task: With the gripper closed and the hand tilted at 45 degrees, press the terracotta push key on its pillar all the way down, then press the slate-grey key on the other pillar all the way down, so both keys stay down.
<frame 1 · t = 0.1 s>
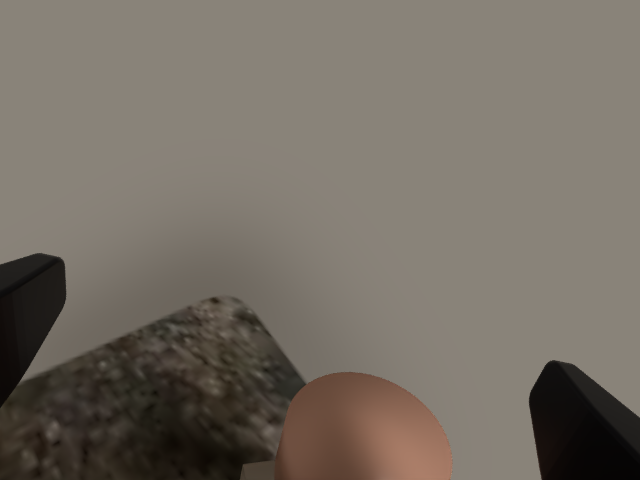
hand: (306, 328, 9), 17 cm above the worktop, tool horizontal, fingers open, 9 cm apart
terracotta key: (354, 474, 14), point 10 cm above the worktop, slide at 0.0 cm
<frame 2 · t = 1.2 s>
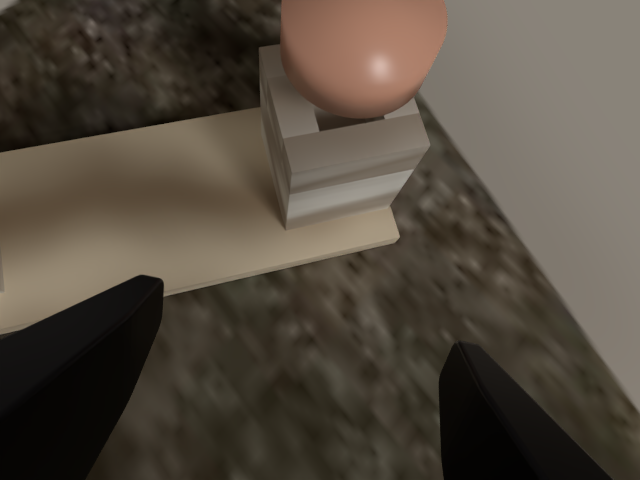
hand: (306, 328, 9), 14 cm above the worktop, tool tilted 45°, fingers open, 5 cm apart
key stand: (147, 215, 23), on the worktop
terracotta key: (355, 50, 15), point 10 cm above the worktop, slide at 0.0 cm
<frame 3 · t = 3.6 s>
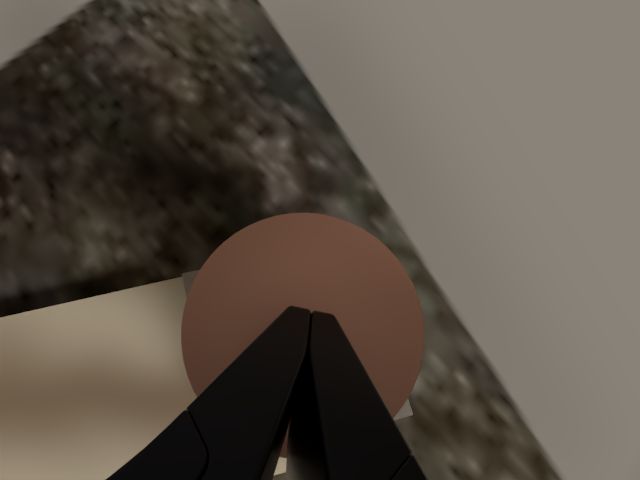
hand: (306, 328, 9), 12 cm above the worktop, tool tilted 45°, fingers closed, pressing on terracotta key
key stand: (66, 414, 19), on the worktop
terracotta key: (300, 335, 11), point 10 cm above the worktop, slide at 0.5 cm, touching gripper
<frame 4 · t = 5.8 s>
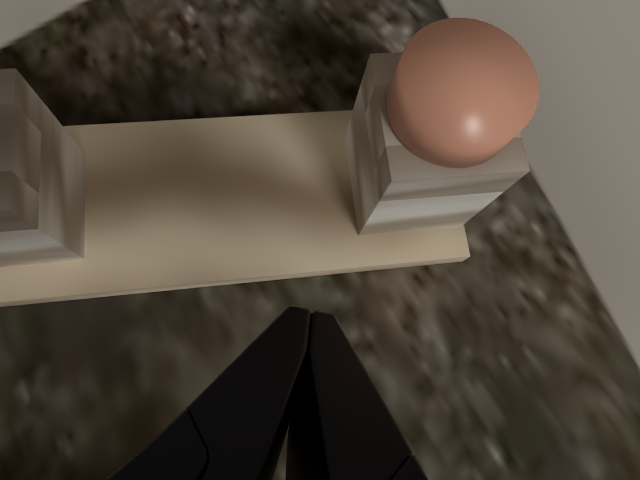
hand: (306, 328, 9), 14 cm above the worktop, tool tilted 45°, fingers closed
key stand: (224, 202, 24), on the worktop
terracotta key: (451, 106, 17), point 8 cm above the worktop, slide at 2.2 cm
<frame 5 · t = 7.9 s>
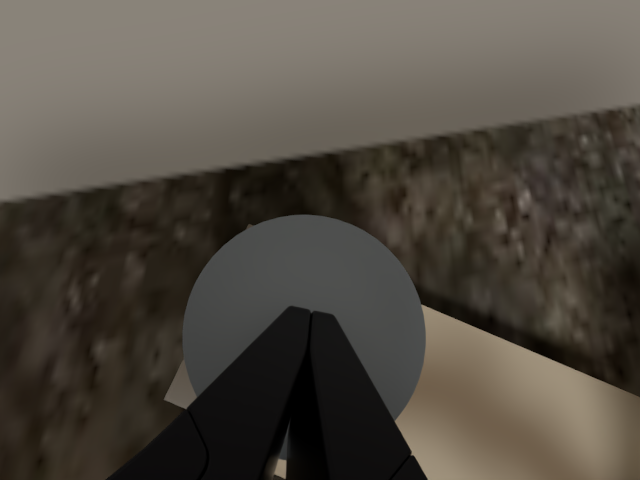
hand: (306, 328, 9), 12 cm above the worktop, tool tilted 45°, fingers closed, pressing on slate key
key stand: (481, 441, 20), on the worktop
slate key: (301, 337, 11), point 10 cm above the worktop, slide at 0.5 cm, touching gripper
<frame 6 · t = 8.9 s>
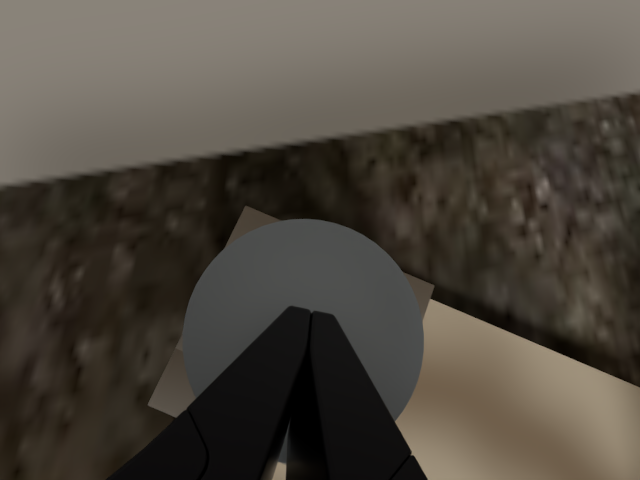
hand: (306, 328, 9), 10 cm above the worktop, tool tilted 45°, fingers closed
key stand: (499, 448, 18), on the worktop
slate key: (300, 340, 11), point 8 cm above the worktop, slide at 2.2 cm
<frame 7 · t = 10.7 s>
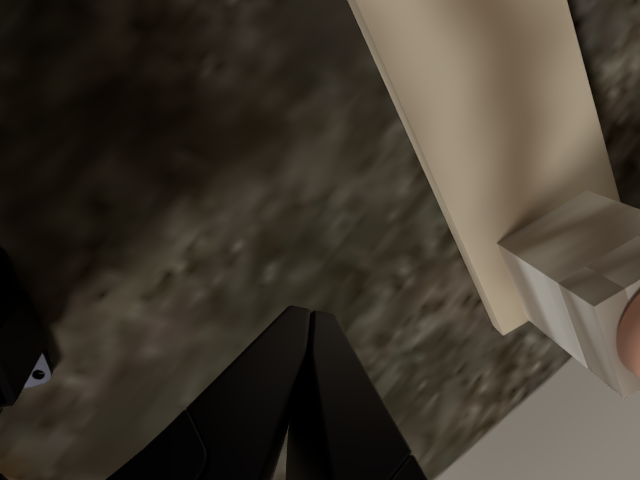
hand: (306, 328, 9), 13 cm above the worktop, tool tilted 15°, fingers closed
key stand: (489, 100, 22), on the worktop
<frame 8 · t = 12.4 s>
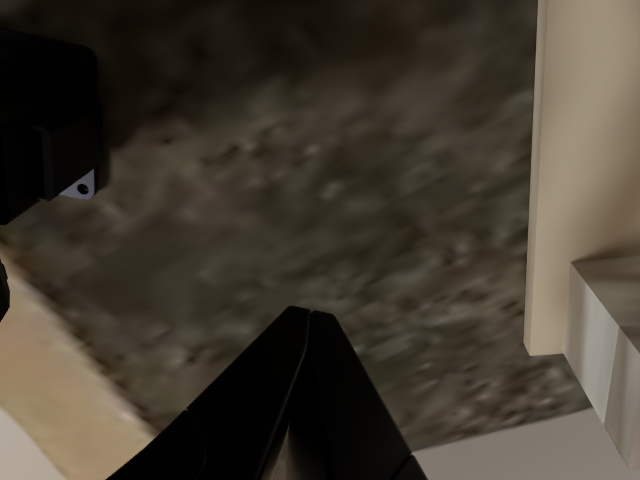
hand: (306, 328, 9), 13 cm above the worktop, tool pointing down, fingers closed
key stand: (639, 110, 19), on the worktop
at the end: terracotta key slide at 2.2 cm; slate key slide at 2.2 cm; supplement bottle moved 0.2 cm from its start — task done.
